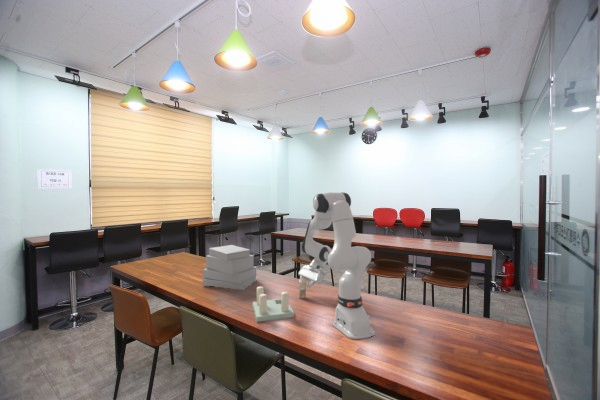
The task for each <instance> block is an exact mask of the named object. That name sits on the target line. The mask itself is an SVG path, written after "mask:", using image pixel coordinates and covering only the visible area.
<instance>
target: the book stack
mask: <svg viewBox="0 0 600 400" xmlns="http://www.w3.org/2000/svg"><path fill="white" fill-rule="evenodd" d="M250 253H251V249H250V248H245V247H241V246H237V245H234V244H229V245H222V246H215V247H209V249H208V254H207V255H205V268H204V269H202V274H203V275H202V286H203V287H209V286H215V287H214V288H218V287H224V288H223V289H228V288H230V289H229V290H237V289H238V290H240V291H245V290H246V289H248V288H249V287H250V286H252V285H253V284H254V283H256V281H257V276H258V274H257V268H258V266H254V263H255V261H254V260H255V256H256V255H254V254H250ZM252 283H253V284H252ZM248 286H249V287H248Z"/></svg>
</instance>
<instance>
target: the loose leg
mask: <svg viewBox="0 0 600 400" xmlns="http://www.w3.org/2000/svg"><path fill="white" fill-rule="evenodd" d="M306 280H307V279H305V278H300V277H299V280H298V282H299V283H298V284H299V286H298V287H299V291H298V293H299V299H300V300H305V299H306V298H307V297H306V296H307V294H306V292H307V291H306V288H307V287H306V286H307V285H306V284H307V283H306V282H307V281H306Z"/></svg>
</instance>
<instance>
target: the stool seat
mask: <svg viewBox="0 0 600 400" xmlns="http://www.w3.org/2000/svg"><path fill="white" fill-rule="evenodd" d="M264 292H265V291H264V286H257V287H256V301H252V309H253V313H254V316H255V317H254V318H255V322H256V323H258V322H266V321H267V322H268V321H273V320H282V319H288V318H289V319H291V318H294V317H295V312H294V310H293V309H292V306H291V305H290V303H289V299H290V298H289V293H290V292H288V291H282V292H280V293H281V295H280V297H281V298H279V299H278V298H275V299H268V294H265V293H264Z"/></svg>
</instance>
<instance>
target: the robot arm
mask: <svg viewBox="0 0 600 400" xmlns="http://www.w3.org/2000/svg"><path fill="white" fill-rule="evenodd" d="M312 199H313V200H312V204H313V206H312V207H313V209H314V216H313V218H311V219H310V220H309V222H308V223H307V227H306V231H305V235H304V238H303V241H302V244H301V250H302V252H303V253H304V254H307V255H310V256H311V257H312V258H313V259H312V261H310V263H309V264H305V265H304V266H303V267H302V268H301V269H299V271H298V274H297V275H298V276H299V279H300V278H305V279H306V280H307V281H310V283H308V284H307V285H306V286H307V287H306V288H309V289H310V288H311V287H312V286H314V285H315V284H317V285H320V284H322V282H323V280H324V279H325V276H326V275H327V271H326V270H324V268H325V266H326V265H327V264H328V266H329V268H330V269H331V270H332V271H335V272H344V273H343V274H342V275H341V276H340V277H339V280H338V294H337V305H336V307H335V311H334V312H335V313H334V321H332V323H331V324H332V327H334V328H336V330H338V331H339V332H341V333H342V334H343V335H344V336H345V337H347V338H348V339H353V340H359V339H361V340H362V339H367V338H371V336H372V337H373V335H374V336H375V335H376V331H375V330H374V328H373V327H372V325H371V322H370V320H371V315H370V314H367V312H366V309H365V308H364V306H363V305H364V302H363V298H362V295H361V294H362V293H361V292H362V289H361V288H362V279H363V275H364V273H365V270H366V269H367V266H368V265H369V264H370V263H371V262H372V261H371V260H372V253H371V251H370V249H368V248H367V247H366V246H360V245H356V246H352V242H353V241H352V240H353V239H354V237H356V234H357V231H356V226H355V221H354V216H353V212H352V210H351V205H352V198H351V196H350V194H349V193H347V192H324V193H318V194H315V195H314V197H313V198H312ZM331 225H332V227H333V234H334V241H333V242H334V243H333V247H332V248H331V247H330V246H329V245H327V244H326V245H324V244H323V243H320V242H317V241H315V240H314V239H313V238H314V235H315V231H316V230H319V231H320V230H325V229H328V228H329V227H330V226H331ZM298 284H299V281H298Z"/></svg>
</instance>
